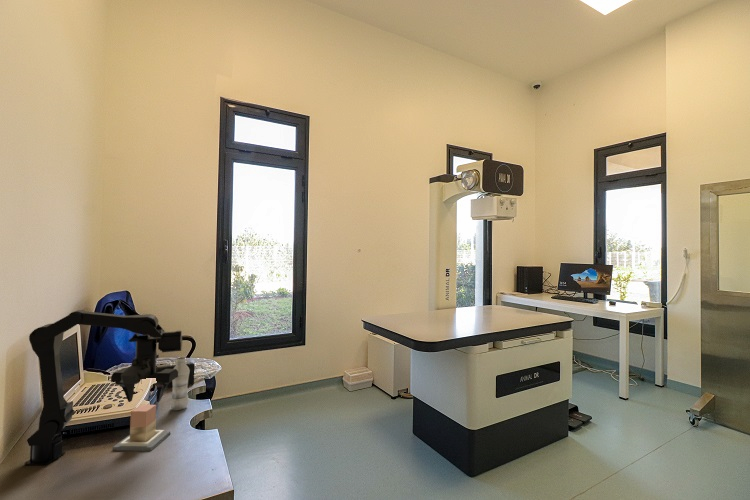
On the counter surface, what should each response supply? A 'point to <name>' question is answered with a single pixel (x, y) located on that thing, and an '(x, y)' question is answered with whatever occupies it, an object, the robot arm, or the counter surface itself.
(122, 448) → the baseplate
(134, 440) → the maple block
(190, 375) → the nameplate
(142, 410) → the terracotta block
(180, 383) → the plastic bottle
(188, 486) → the counter surface
